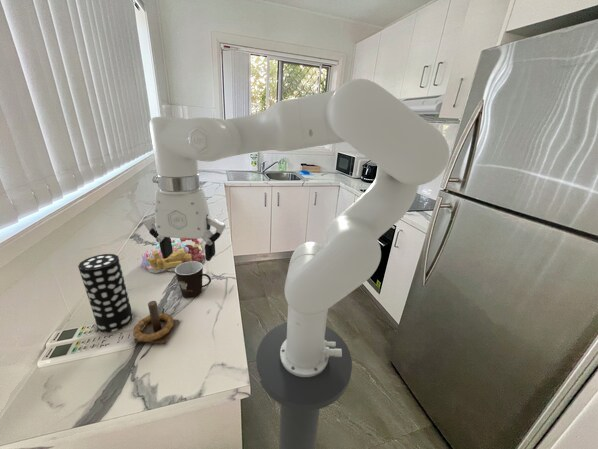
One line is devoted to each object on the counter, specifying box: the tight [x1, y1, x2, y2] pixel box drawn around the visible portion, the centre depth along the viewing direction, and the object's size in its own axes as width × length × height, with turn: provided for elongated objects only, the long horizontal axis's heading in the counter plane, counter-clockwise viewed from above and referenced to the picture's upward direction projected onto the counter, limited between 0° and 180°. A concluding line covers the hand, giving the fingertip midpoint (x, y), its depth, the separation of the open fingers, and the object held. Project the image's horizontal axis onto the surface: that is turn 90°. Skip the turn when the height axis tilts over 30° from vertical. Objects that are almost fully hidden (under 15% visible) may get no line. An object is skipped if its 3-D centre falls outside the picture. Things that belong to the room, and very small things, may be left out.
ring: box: [132, 312, 174, 342], centre depth 67 cm, size 10×10×2 cm
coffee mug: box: [174, 261, 212, 299], centre depth 82 cm, size 12×9×10 cm
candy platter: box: [141, 238, 205, 274], centre depth 104 cm, size 25×24×9 cm
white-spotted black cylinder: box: [77, 253, 134, 333], centre depth 67 cm, size 8×8×20 cm
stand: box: [133, 300, 180, 345], centre depth 66 cm, size 8×8×10 cm
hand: (189, 257), depth 56 cm, fingers open, 9 cm apart
